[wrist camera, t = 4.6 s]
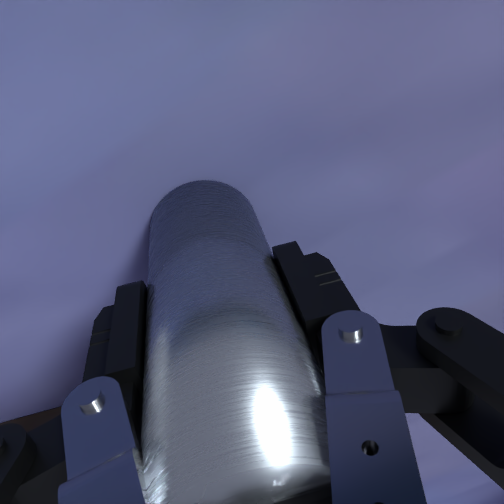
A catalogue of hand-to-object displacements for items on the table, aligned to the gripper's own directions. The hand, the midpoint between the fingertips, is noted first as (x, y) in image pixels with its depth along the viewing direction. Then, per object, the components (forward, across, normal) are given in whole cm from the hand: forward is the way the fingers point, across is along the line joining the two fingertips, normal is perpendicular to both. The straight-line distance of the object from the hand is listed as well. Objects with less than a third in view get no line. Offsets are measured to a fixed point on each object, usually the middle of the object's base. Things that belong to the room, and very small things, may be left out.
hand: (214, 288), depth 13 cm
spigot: (+4, 0, 0) cm, 4 cm away
